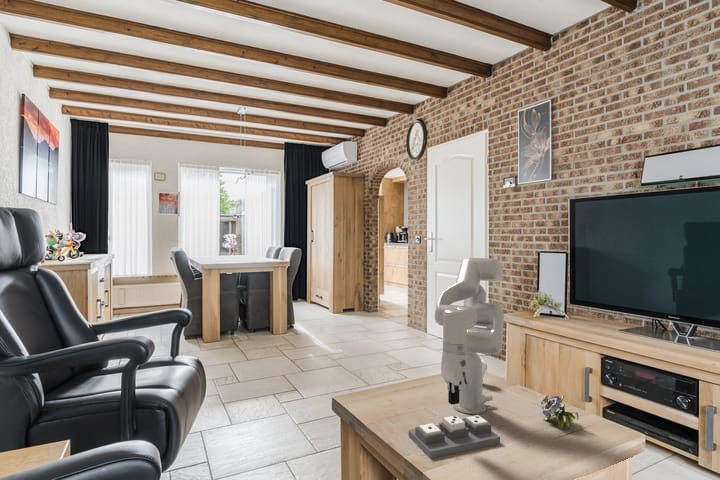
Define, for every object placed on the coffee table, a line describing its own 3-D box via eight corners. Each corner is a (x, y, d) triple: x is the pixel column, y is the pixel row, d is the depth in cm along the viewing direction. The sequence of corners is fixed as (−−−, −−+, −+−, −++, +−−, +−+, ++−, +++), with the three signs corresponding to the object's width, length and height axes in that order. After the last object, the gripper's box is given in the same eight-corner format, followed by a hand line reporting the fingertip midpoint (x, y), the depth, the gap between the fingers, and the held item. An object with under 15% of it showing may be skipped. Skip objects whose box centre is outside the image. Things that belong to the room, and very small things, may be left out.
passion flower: (546, 435, 144) (535, 400, 151) (577, 431, 143) (564, 396, 150) (552, 429, 135) (540, 393, 142) (585, 425, 134) (571, 389, 141)
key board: (473, 423, 141) (473, 411, 141) (500, 443, 128) (500, 429, 128) (408, 436, 132) (408, 422, 132) (430, 458, 119) (430, 443, 119)
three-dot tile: (455, 424, 133) (455, 415, 133) (464, 431, 128) (464, 421, 128) (443, 426, 131) (443, 417, 131) (451, 433, 127) (451, 424, 127)
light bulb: (469, 380, 183) (470, 357, 183) (483, 380, 184) (483, 357, 184) (475, 386, 177) (475, 361, 177) (489, 386, 177) (489, 361, 177)
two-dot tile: (477, 423, 136) (478, 414, 136) (487, 430, 131) (487, 421, 131) (465, 426, 134) (465, 416, 134) (474, 432, 130) (475, 423, 130)
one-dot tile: (432, 432, 130) (432, 422, 130) (440, 439, 125) (440, 429, 125) (419, 434, 128) (419, 425, 128) (426, 442, 123) (427, 432, 123)
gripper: (478, 352, 124) (477, 410, 124) (451, 341, 138) (450, 393, 138) (458, 354, 121) (457, 414, 121) (432, 342, 135) (431, 396, 135)
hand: (453, 403), depth 129 cm, fingers closed
